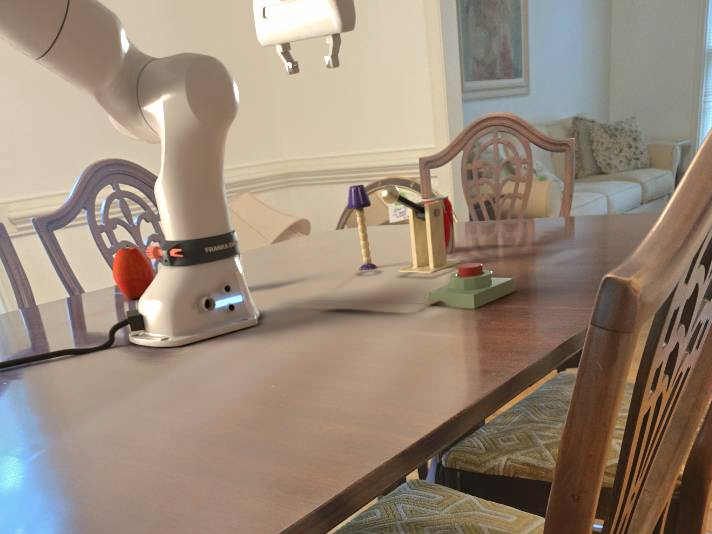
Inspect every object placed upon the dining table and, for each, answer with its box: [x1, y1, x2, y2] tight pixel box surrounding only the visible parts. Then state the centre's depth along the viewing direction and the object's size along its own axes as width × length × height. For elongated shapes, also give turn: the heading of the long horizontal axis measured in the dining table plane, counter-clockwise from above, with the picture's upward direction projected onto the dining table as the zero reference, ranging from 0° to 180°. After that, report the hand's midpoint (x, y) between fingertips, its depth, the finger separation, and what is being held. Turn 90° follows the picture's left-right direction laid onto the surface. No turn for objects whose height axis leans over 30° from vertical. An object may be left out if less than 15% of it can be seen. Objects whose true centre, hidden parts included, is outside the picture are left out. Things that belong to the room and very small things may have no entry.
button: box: [457, 262, 484, 277], centre depth 126 cm, size 4×4×2 cm
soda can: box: [420, 194, 456, 255], centre depth 164 cm, size 7×7×12 cm
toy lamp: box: [347, 184, 378, 271], centre depth 155 cm, size 5×5×17 cm
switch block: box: [427, 269, 515, 310], centre depth 128 cm, size 12×9×4 cm
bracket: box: [398, 200, 462, 274], centre depth 150 cm, size 10×8×13 cm
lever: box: [381, 183, 426, 221], centre depth 143 cm, size 14×3×3 cm, turn 141°
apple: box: [112, 245, 156, 300], centre depth 159 cm, size 8×8×11 cm
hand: (313, 71), depth 132 cm, fingers open, 8 cm apart
